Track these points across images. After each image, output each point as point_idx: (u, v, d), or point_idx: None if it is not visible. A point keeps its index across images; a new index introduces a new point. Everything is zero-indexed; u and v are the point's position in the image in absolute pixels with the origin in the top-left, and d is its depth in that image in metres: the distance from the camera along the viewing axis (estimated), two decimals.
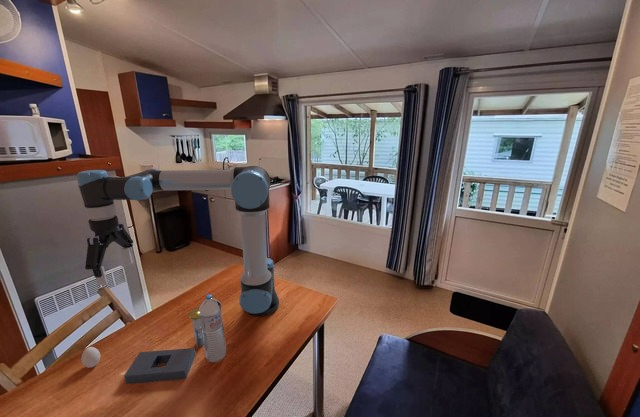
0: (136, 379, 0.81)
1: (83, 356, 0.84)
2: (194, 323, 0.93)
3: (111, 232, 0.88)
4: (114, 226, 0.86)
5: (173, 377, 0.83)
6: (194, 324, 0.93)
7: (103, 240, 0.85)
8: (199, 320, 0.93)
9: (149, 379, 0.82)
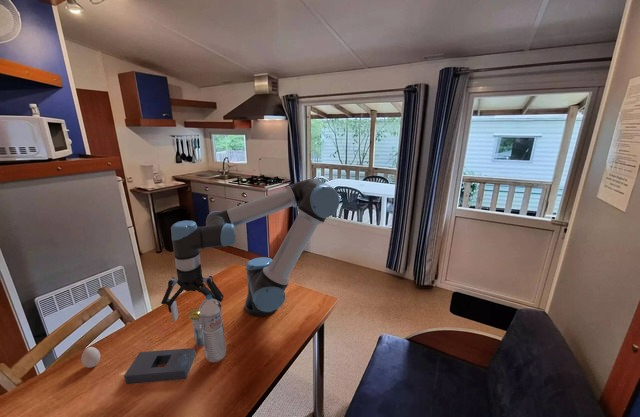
0: (136, 379, 0.81)
1: (83, 356, 0.84)
2: (194, 323, 0.93)
3: (191, 282, 0.88)
4: (183, 279, 0.85)
5: (173, 377, 0.83)
6: (194, 324, 0.93)
7: (180, 286, 0.88)
8: (199, 320, 0.93)
9: (149, 379, 0.82)
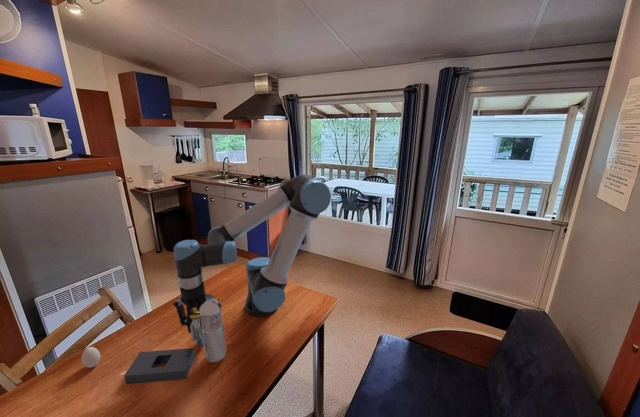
0: (136, 379, 0.81)
1: (83, 356, 0.84)
2: (194, 323, 0.93)
3: (194, 299, 0.90)
4: (186, 297, 0.87)
5: (173, 377, 0.83)
6: (194, 324, 0.93)
7: None
8: (199, 320, 0.93)
9: (149, 379, 0.82)
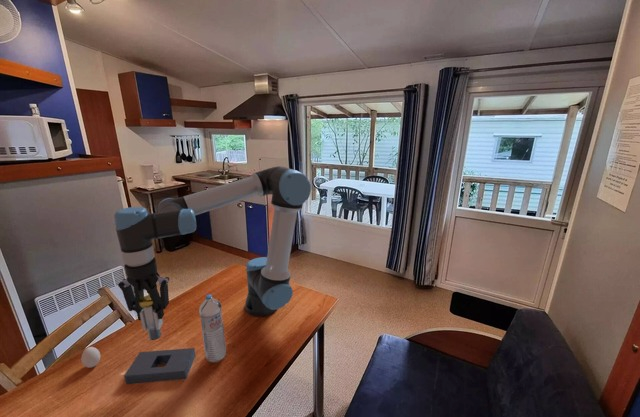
0: (136, 379, 0.81)
1: (83, 356, 0.84)
2: (145, 312, 0.78)
3: (144, 279, 0.75)
4: (131, 276, 0.72)
5: (173, 377, 0.83)
6: (145, 313, 0.78)
7: (130, 284, 0.75)
8: (151, 308, 0.79)
9: (149, 379, 0.82)
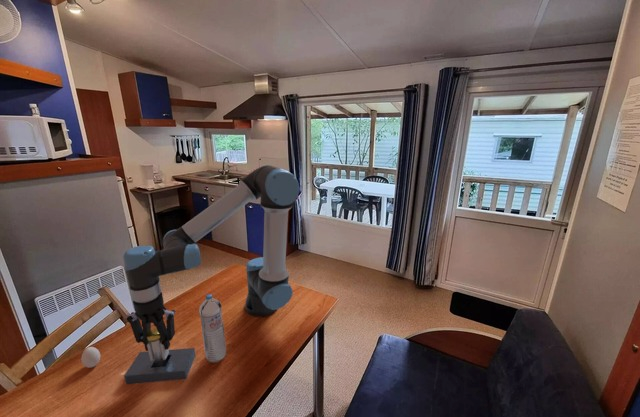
0: (136, 379, 0.81)
1: (83, 356, 0.84)
2: (153, 345, 0.82)
3: (151, 313, 0.79)
4: (139, 312, 0.76)
5: (173, 377, 0.83)
6: (153, 346, 0.82)
7: (138, 317, 0.79)
8: (159, 342, 0.82)
9: (149, 379, 0.82)
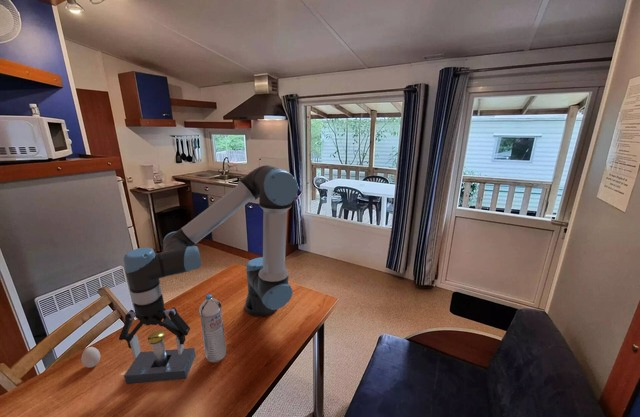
0: (136, 379, 0.81)
1: (83, 356, 0.84)
2: (154, 347, 0.82)
3: (151, 315, 0.79)
4: (140, 314, 0.76)
5: (173, 377, 0.83)
6: (154, 349, 0.82)
7: None
8: (160, 344, 0.83)
9: (149, 379, 0.82)
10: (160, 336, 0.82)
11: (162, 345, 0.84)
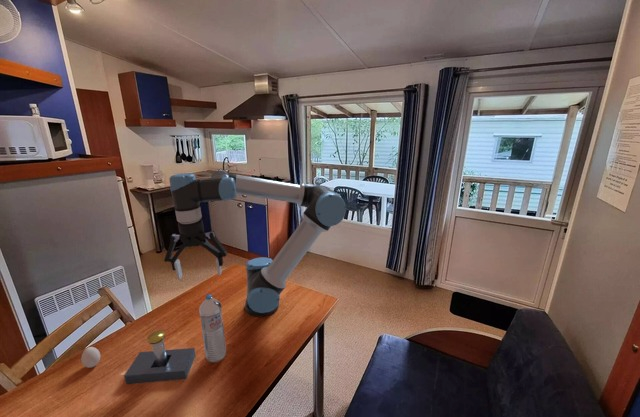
0: (136, 379, 0.81)
1: (83, 356, 0.84)
2: (154, 347, 0.82)
3: (194, 237, 0.87)
4: (185, 232, 0.84)
5: (173, 377, 0.83)
6: (154, 349, 0.82)
7: (182, 241, 0.87)
8: (160, 344, 0.83)
9: (149, 379, 0.82)
10: (160, 336, 0.82)
11: (162, 345, 0.83)
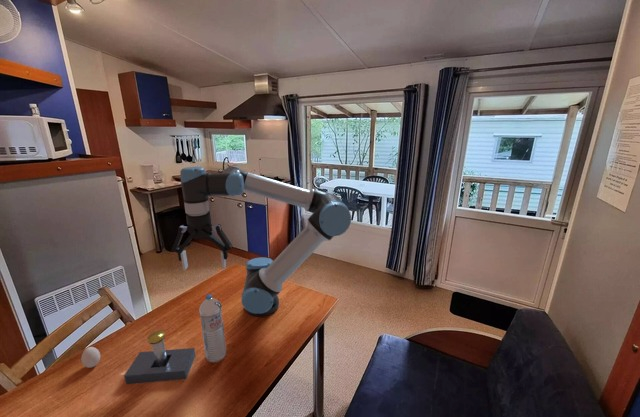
0: (136, 379, 0.81)
1: (83, 356, 0.84)
2: (154, 347, 0.82)
3: (201, 229, 0.89)
4: (192, 224, 0.86)
5: (173, 377, 0.83)
6: (154, 349, 0.82)
7: None
8: (160, 344, 0.83)
9: (149, 379, 0.82)
10: (160, 336, 0.82)
11: (162, 345, 0.83)
